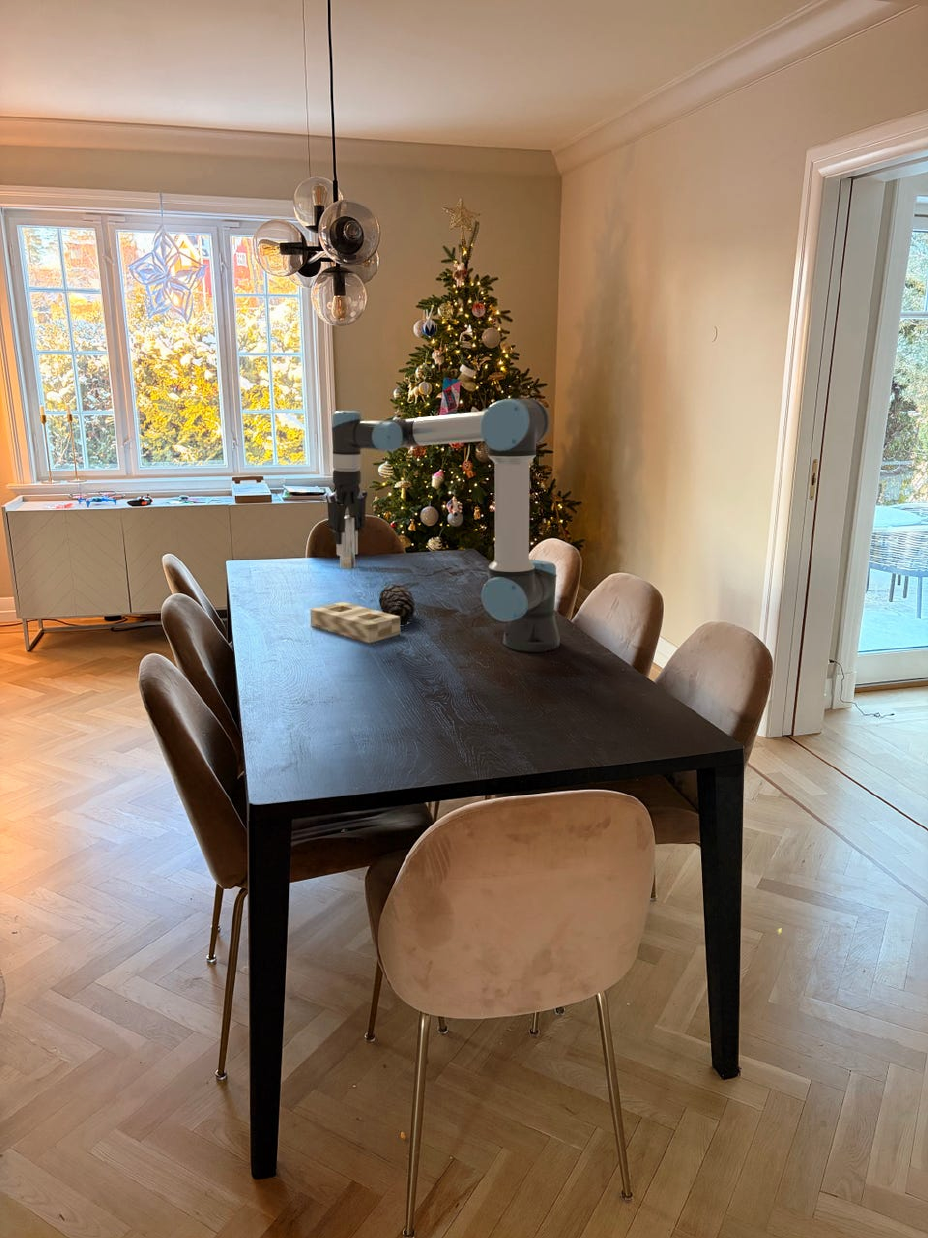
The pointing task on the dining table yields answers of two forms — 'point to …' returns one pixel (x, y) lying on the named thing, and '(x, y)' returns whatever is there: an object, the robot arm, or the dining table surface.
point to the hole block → (355, 621)
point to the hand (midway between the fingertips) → (347, 554)
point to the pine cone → (397, 602)
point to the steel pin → (349, 543)
